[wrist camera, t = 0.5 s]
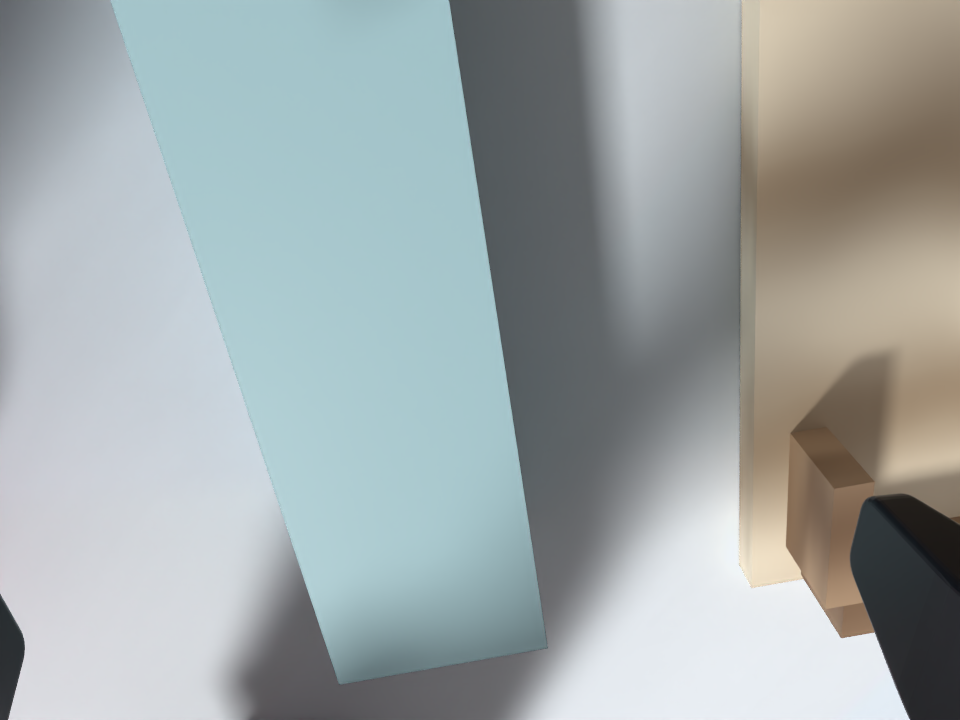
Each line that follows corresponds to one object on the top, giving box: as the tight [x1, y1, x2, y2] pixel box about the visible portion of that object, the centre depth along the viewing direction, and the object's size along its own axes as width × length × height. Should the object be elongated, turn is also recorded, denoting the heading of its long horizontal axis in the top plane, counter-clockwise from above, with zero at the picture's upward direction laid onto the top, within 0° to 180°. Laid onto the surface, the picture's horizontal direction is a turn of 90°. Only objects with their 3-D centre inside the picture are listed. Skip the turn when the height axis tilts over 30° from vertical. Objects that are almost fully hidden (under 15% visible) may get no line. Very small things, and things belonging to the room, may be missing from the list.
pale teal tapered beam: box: [110, 0, 548, 685], centre depth 17 cm, size 17×5×5 cm, turn 8°
